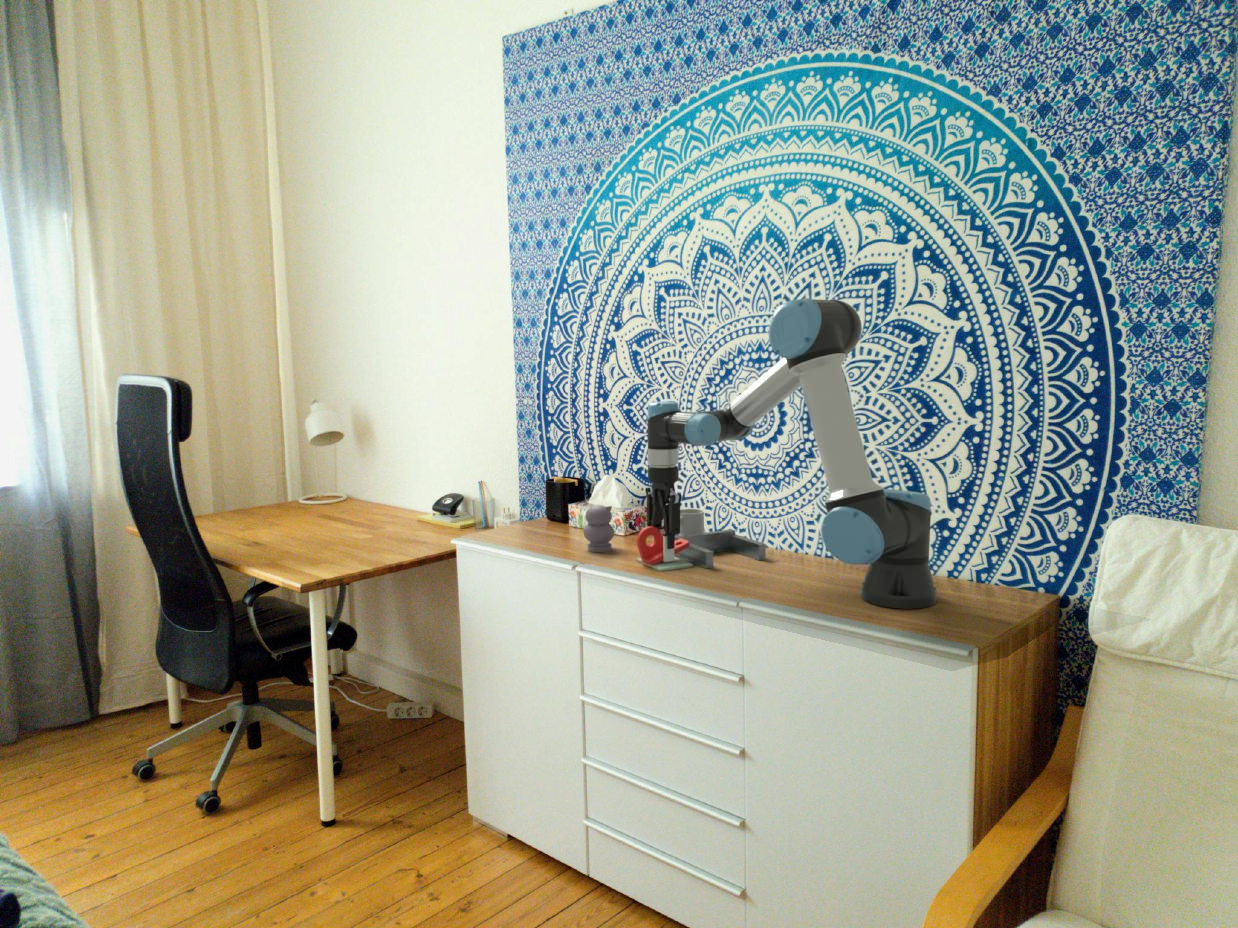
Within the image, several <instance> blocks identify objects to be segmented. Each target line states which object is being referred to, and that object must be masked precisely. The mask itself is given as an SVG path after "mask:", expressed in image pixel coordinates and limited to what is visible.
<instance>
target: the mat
mask: <svg viewBox="0 0 1238 928" xmlns="http://www.w3.org/2000/svg"><path fill="white" fill-rule="evenodd" d="M636 562H638V563H641V564H642V565H645V566H648V567H650V568H653V570H654V569H655V570H657V571H659V572H664V571H665V572H666V571H672V570H673V571H674V570H678V569H685V568H692V567H693V566H694V564H693V563H691V562H688V561H686V560H683V559H681V558H678V557H675V556H674V561H670V562H663V560H662V561H660V562H658V563H656V564H654V565H652V566H651V565H648V564H646V563H644V562H642V559H641V557H638V558H636Z"/></svg>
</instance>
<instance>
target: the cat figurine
mask: <svg viewBox="0 0 1238 928" xmlns="http://www.w3.org/2000/svg"><path fill="white" fill-rule="evenodd" d="M612 507H613V505H609V506H605V505H602V504H593V503H590V506H589V507H588V509H587V510H586V512H585V520H586V522H587V524H586V525H584V528H583V536H584V538H585V539H586V540H587V541H588V542H589V543H588V544H587V551H589V552H591V553H607V552H610V551H612V548H613V546H612V543H611V542H610V541H611V540H613V538H614V537H615V529H614V527H613V526H612V524H611V521H612V516H613V515H612V513H611V510H612Z"/></svg>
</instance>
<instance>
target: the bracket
mask: <svg viewBox="0 0 1238 928" xmlns="http://www.w3.org/2000/svg"><path fill="white" fill-rule="evenodd" d="M650 536H651V537H652V536H653V537H654V541H653V543H651V544H650V545H648V544H647V539H648V537H650ZM674 543H675V547H674V554H676V553H678V552H680V551H682V550H684V549H686V548H688V547H689V546H690V545H689V541H687V540H684V539H682V538H680V539H678V540H676V541H675V542H674ZM636 545H637V548H638V552H639V556H640V558H641V559H642V562H644V563H646V564H648V565H651V566H652V565H654V564H656V563H658V562H660V561H662V560H663V536H662V533H661V531H660V530H659V529H657V528H655V527H652V526H645V527H643V528H642V529H641V530H640V531H639V532H638V535H637V537H636Z"/></svg>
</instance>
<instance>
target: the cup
mask: <svg viewBox="0 0 1238 928" xmlns="http://www.w3.org/2000/svg"><path fill="white" fill-rule="evenodd" d="M704 514H705V512H704V510H703V509H697V508H683V509H681V508H680V534H676V535H675V537H676V536H684V535H691V534H699V533H705V515H704Z"/></svg>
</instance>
